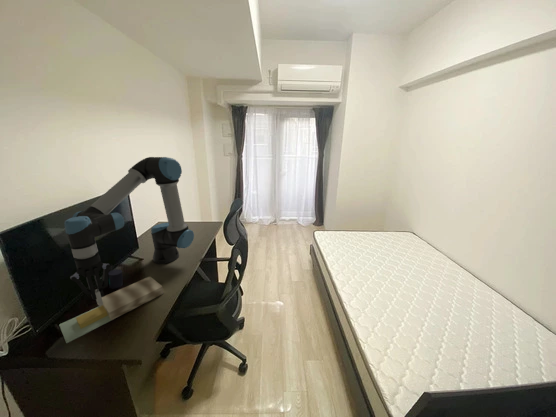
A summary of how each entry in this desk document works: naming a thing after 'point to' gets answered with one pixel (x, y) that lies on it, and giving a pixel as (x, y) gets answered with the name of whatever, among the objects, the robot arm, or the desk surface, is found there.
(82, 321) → the yellow flat block
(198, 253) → the desk surface
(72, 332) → the mat
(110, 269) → the speaker
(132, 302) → the deck
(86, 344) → the desk surface
